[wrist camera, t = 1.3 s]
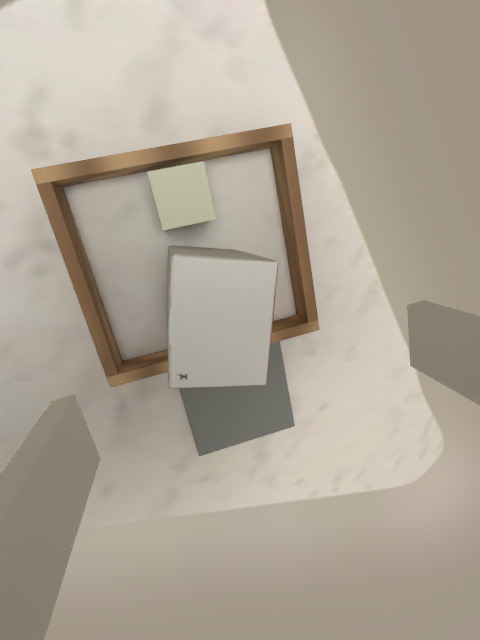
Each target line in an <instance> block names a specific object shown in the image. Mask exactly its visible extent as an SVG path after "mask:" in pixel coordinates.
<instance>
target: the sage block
mask: <svg viewBox="0 0 480 640" xmlns="http://www.w3.org/2000/svg"><path fill="white" fill-rule="evenodd" d="M147 173H148V177H149V180H150V184H151V188H152V192H153V195H154V199H155V203H156V207H157V210H158V214H159V218H160V222H161V225H162V229H163V231H164V230H168V229H173V228H178V227H182V226H187V225H192V224H196V223H201V222H206V221H210V220H215V219H216V215H215V211H214V206H213V202H212V197H211V192H210V188H209V183H208V178H207V174H206V169H205V165H204V161H202V162H197V163H191V164H186V165H181V166H175V167H170V168H165V169H159V170H154V171H149V172H147Z"/></svg>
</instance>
